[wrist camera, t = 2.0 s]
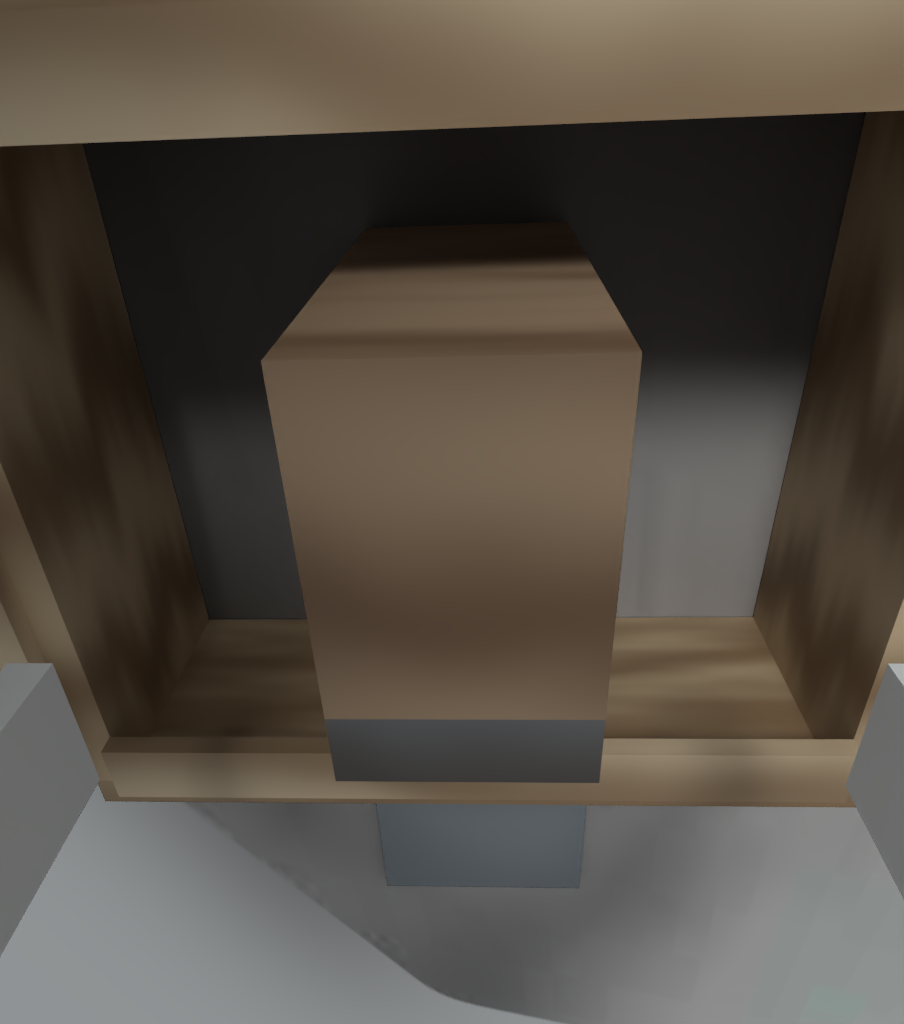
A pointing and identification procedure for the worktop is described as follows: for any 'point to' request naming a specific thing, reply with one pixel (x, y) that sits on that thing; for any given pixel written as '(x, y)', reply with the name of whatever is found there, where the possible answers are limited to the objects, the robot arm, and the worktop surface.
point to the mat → (482, 844)
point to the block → (459, 500)
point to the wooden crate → (418, 106)
